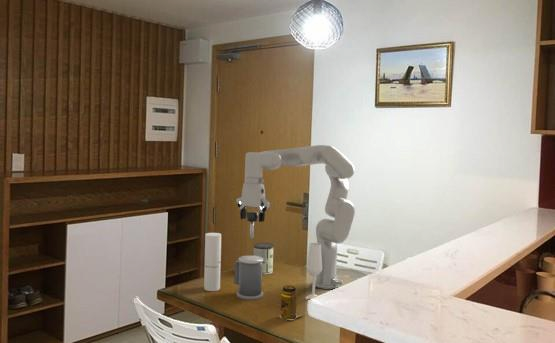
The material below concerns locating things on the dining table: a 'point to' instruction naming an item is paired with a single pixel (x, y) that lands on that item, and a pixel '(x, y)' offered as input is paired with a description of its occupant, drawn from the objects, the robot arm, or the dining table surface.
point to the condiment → (288, 302)
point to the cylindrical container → (212, 261)
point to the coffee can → (265, 256)
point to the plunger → (252, 221)
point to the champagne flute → (314, 264)
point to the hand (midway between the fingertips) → (252, 220)
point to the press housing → (249, 277)
